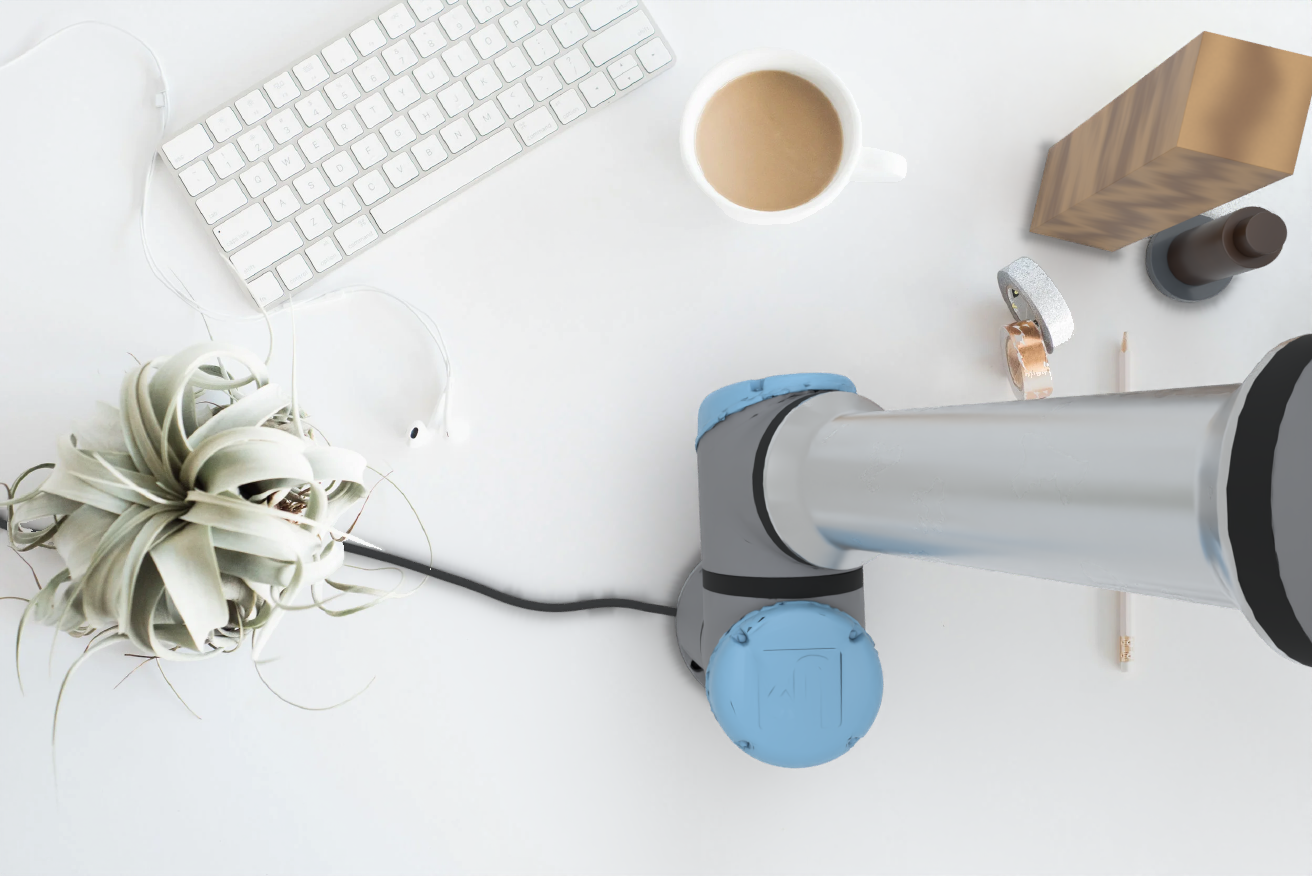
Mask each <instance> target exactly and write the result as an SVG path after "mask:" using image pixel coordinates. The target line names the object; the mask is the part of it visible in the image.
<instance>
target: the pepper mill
mask: <svg viewBox="0 0 1312 876" xmlns="http://www.w3.org/2000/svg"><path fill="white" fill-rule="evenodd" d="M1213 219H1214V220H1211V221H1209V222H1207V223H1204V224H1202V225H1199V226H1197V227H1194V228H1192V229H1189V230H1187V231H1185V232H1183V233H1181V234H1179V235H1178V236H1177V237H1176V238H1175V239H1174V240H1173V241H1172V243H1171V244H1170V247H1169V249H1168V254H1167V261H1168V266H1169V268H1170V270H1171V272H1172V274H1173V275H1174V276H1175V277H1176V278H1177V279H1178V280H1179V281H1181V282H1183V283H1185V284H1188V285H1192V286H1199V285H1204V284H1208V283H1211V282H1214V281H1218V280H1221V279H1224V278H1228V277H1231V276H1233V277H1236V276H1238V275H1241V274H1245V273H1247V272H1251V271H1254V270H1257V269H1261V268H1264V267H1267V266H1268V265H1270V264H1271V263H1273V262H1274V261H1275V260H1276V259H1278V257H1279V255H1280V254H1281V252H1282V250H1283V247H1284V245H1285V243H1286V241H1287V237H1288V228H1287V224H1286V222H1285V221H1284V220H1283V218H1282V217H1280V216H1279V215H1278V214H1276V213H1274V212H1272V211H1270V210H1269V209H1266V208H1265V207H1261V206H1256V205H1255V206H1253V205H1252V206H1245V207H1242V208H1239V209H1236V210H1233V211H1230V212H1228V213H1227V214H1223V215H1222V216H1219V217H1217V218H1213Z"/></svg>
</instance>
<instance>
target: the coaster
mask: <svg viewBox="0 0 1312 876" xmlns="http://www.w3.org/2000/svg"><path fill="white" fill-rule="evenodd" d="M1214 219H1215V218H1212V217H1210V216H1206V215H1203V214H1200V215H1198V216H1195V217H1193V218H1191V219H1188V220H1186V221H1184V222H1181V223H1179V224H1177V225H1174V226H1172V227H1170V228H1167V229H1165V230H1163V231H1160V232H1158V233H1156V234H1153V235H1152V236H1151V238H1150V240H1149V242H1148V245H1147V248H1146V253H1145V254H1146V255H1145V267H1146V271H1147V274H1148V276H1149V279H1150V280H1151V282H1152V284H1153V285H1154V287H1155V288H1156V289H1157V290H1158V291H1159V292H1161V293H1162V294H1163V295H1164V296H1165V297H1168V298H1169V299H1171V300H1174V301H1177V302H1180V303H1181V302H1182V303H1198V302H1202V301H1205V300H1208V299H1211V298H1214V297H1215V296H1218V295H1219V294H1220V293H1221V292H1223V291H1224V290H1225V289H1226V288H1227V286H1228V285H1229V284H1230V283H1231V281H1232V280H1233V278H1234V276H1231V277H1228V278H1224V279H1221V280H1218V281H1214V282H1211V283H1208V284H1204V285H1199V286H1192V285H1188V284H1185V283H1183V282H1181V281H1179V280H1178V279H1177V278H1176V277H1175V276H1174V275H1173V274H1172V272H1171V270H1170V268H1169V266H1168V261H1167V254H1168V249H1169V247H1170V244H1171V243H1172V241H1173V240H1174V239H1175V238H1176V237H1177V236H1178V235H1179V234H1181V233H1183V232H1185V231H1187V230H1189V229H1192V228H1194V227H1197V226H1199V225H1202V224H1204V223H1207V222H1209V221H1211V220H1214Z"/></svg>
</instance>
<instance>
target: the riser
mask: <svg viewBox="0 0 1312 876" xmlns="http://www.w3.org/2000/svg"><path fill="white" fill-rule="evenodd" d="M1311 102H1312V56H1311V55H1306V54H1303V53H1298V52H1294V51H1290V50H1287V49H1281V48H1278V47H1274V46H1270V45H1264V44H1261V43H1258V42H1254V41H1253V42H1252V41H1248V40H1244V39H1241V38H1236V37H1231V36H1227V35H1224V34H1220V33H1216V32H1211V31H1206V30H1203V31H1202V32H1200V33H1199V34H1198V35H1197V36H1196V37H1194V38H1192V39H1191V40H1190V41H1189V42H1187V43H1186V44H1185V45H1183V46H1182V47H1181V48H1180V49H1178V50H1176V52H1174V53H1172V55H1170V56H1169V57H1168V58H1166V59H1165V60H1163V61H1162V62H1161V63H1160V64H1159V65H1157V66H1156V67H1155V68H1153V69H1151V71H1149V72H1148V73H1146V74H1145V75H1144V76H1143V77H1142V78H1140V79H1139V80H1138V81H1136V82H1135V83H1134V84H1132V85H1131V86H1130V87H1128V88H1127V89H1126V90H1124V91H1123V92H1122V93H1121V94H1119V95H1118V96H1117V97H1115V98H1113V99H1112V100H1111V101H1110V102H1109V103H1107V104H1106V105H1104V106H1103V107H1102V108H1100V109H1099V110H1098V111H1097V112H1095V113H1094V114H1093V115H1092V116H1090V117H1089V118H1087V120H1085V121H1084V122H1082V123H1081V124H1080V125H1078V126H1077V127H1075V128H1074V129H1073V130H1072V131H1071V132H1069V133H1067V135H1065V136H1064V137H1062V138H1061V139H1060V140H1059V141H1057V142H1056V143H1055V144H1053V145H1052V146H1051V147H1050V148H1048V152H1047V156H1046V161H1045V165H1044V168H1043V173H1042V177H1041V182H1040V185H1039V188H1038V189H1039V190H1038V194H1037V198H1036V203H1035V207H1034V211H1033V214H1032V218H1031V223H1030V227H1029V232H1030V233H1033V234H1037V235H1040V236H1041V235H1042V236H1045V237H1050V238H1053V239H1057V240H1061V241H1067V242H1070V243H1074V244H1078V245H1083V246H1086V247H1091V248H1095V249H1099V250H1104V251H1107V252H1111V253H1114V252H1116V251H1118V250H1121V249H1123V248H1125V247H1128V246H1130V245H1132V244H1134V243H1137V242H1139V241H1143V240H1144V239H1146V238H1148V237H1152V236H1153V235H1154V234H1156V233H1158V232H1160V231H1163V230H1165V229H1167V228H1170V227H1172V226H1174V225H1177V224H1179V223H1181V222H1184V221H1186V220H1188V219H1191V218H1193V217H1195V216H1198V215H1203V214H1204V213H1207V212H1209V211H1211V210H1214V209H1216V208H1219V207H1221V206H1224V205H1225V204H1228V203H1230V202H1233V201H1235V200H1237V199H1239V198H1242V197H1244V196H1246V195H1249V194H1251V193H1254V192H1256V191H1259V190H1261V189H1263V188H1265V187H1267V186H1270V185H1272V184H1275V183H1277V182H1279V181H1281V180H1284V179H1286V178H1289V177H1291V176H1293V175H1294V173H1295V169H1296V164H1297V160H1298V157H1299V151H1300V149H1301V148H1300V147H1301V143H1302V140H1303V136H1304V131H1305V126H1306V122H1307V118H1308V114H1309V111H1310V106H1311Z"/></svg>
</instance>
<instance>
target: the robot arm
mask: <svg viewBox="0 0 1312 876" xmlns="http://www.w3.org/2000/svg"><path fill="white" fill-rule="evenodd" d="M696 434H697V435H696V437H695V438H694V439H695V440H694V450H695V452H696V465H697V489H698V490H697V491H698V512H699V513H698V514H699V536H700V537H699V539H700V559H701V560H700V561H699V562H698V563H697V564H696V565H695V567H694V568H693V569H692V570H691V572H690V573H689V574H688V576H687V578H686V580H685V581H684V583H683V585H682V588H681V590H680V592H679V596H678V598H677V603H676V607H674V606H673V607H672V606H669V605H668V606H667V605H660V604H654V603H648V602H644V601H639V600H635V599H629V598H626V599H625V598H598V599H590V600H582V601H573V602H565V603H564V602H562V603H561V602H560V603H559V602H558V603H550V602H549V603H547V602H538V601H533V600H529V599H528V600H527V599H523V598H519V597H516V596H512V595H509V594H507V593H504V592H502V591H499V590H496V589H494V588H492V587H489V586H486V585H484V584H481V583H478V582H476V581H473V580H470V579H468V578H464V577H462V576H459V575H455V574H452V573H450V572H447V571H445V570H441V569H437V568H434V567H431V566H429V565H426V564H423V563H420V562H416V561H413V560H410V559H407V558H404V557H401V556H397V555H395V554H391V553H387V552H384V551H380V550H376V549H373V548H369V547H364V546H362V545H358V544H353V543H349V542H345V541H342V542H343V545H344V551H343V552H347V553H350V554H354V555H357V556H362V557H366V558H370V559H373V560H377V561H381V562H385V563H388V564H392V565H395V566H398V567H402V568H405V569H408V570H411V571H413V572H417V573H419V574H423V575H426V576H429V577H432V578H435V579H437V580H439V581H443V582H447V583H449V584H453V585H456V586H459V587H462V588H464V589H467V590H471V591H473V592H476V593H479V594H481V595H483V596H486V597H488V598H490V599H494V600H496V601H498V602H500V603H504V604H506V605H509V606H514V607H517V608H521V609H525V610H529V611H535V612H544V613H566V612H567V613H568V612H569V613H570V612H576V611H585V610H592V609H593V610H594V609H603V608H623V609H631V610H636V611H642V612H647V613H652V614H657V615H663V616H670V617H674V618H675V633H676V634H675V635H676V640H677V644H678V647H679V652H680V655H681V657H682V659H683V661H684V663H685V665H686V667H687V670H688V671H689V672H690V673H691V675H692V676H693V677H694V679H696V681H697V683H699V684H700V685H701V686H702V687H703V688H704V689H705V696H706V700H707V702H708V703H709V707H710V712H712V714H713V716H714V719H715V720H716V721H717V723H718V724H719V726H720V728H721V729H722V731H723V732H724V733H725V735H726V736H727V737H728V738H729V740H730V741H731V742H732V743H733V744H734V745H735V746H736V747H738V749H739V750H741V751H742V752H743V753H745V754H746V755H748V756H750V757H751V758H753V759H755V760H757V761H759V762H761V763H764V764H767V765H770V766H774V767H778V768H784V769H785V768H786V769H807V768H812V767H817V766H821V765H824V764H827V763H830V762H832V761H834V760H836V759H838V758H840V757H842V756H843V755H845V754H846V753H848V752H849V751H851V749H852V748H854V747H855V745H856V744H857V743H858V742H859V741H860V740H861V739H862V738H864V737H865V736H866V735H867V734H868V733H869V731H870V730H871V727H872V726H873V724H874V722H875V720H876V718H877V716H878V714H879V711H880V708H881V705H882V700H883V695H884V694H883V693H884V674H883V672H884V671H883V668H882V663H881V659H880V657H879V651H878V650H877V649H876V648H875V646H876V643H875V641H874V640H873V638H872V636H871V635H870V634H869V633H868V632H867V631H866V611H865V610H866V609H865V588H864V585H865V584H864V565H866V564H868V563H870V562H872V561H873V560H875V559H877V558H878V557H879V556H881V555H886V556H887V555H888V556H892V557H893V556H894V557H900V558H904V559H905V558H906V559H913V560H918V561H926V562H932V563H937V564H945V565H949V566H950V565H951V566H957V567H963V568H970V569H975V570H983V571H989V572H995V573H1002V574H1007V575H1012V576H1013V575H1015V576H1020V577H1026V578H1034V579H1040V580H1045V581H1046V580H1047V581H1053V582H1057V583H1059V582H1060V583H1066V584H1072V585H1076V586H1084V587H1091V588H1096V589H1103V590H1110V591H1115V592H1122V593H1128V594H1134V595H1142V596H1148V597H1154V598H1161V599H1165V600H1166V599H1167V600H1173V601H1180V602H1186V603H1191V604H1198V605H1205V606H1212V607H1217V608H1224V609H1230V610H1237V611H1240V612H1241V614H1242V615H1243V616H1244V618H1245V619H1246V621H1247V622H1248V623H1249V624H1250V626H1251V627H1252V629H1253V630H1254V632H1255V633H1256V634H1257V635H1258V637H1259V638H1260V639H1261V640H1262V641H1263V642H1264V643H1265V645H1266V646H1268V647H1269V648H1270V649H1271V650H1272V651H1274V652H1275V653H1276V654H1278V655H1279V656H1281V657H1283V658H1285V659H1287V660H1288V661H1290V662H1292V663H1294V664H1298V665H1301V666H1305V667H1308V668H1312V333H1305V334H1301V335H1298V336H1295V337H1292V338H1290V339H1287V340H1285V341H1282V342H1280V343H1279V344H1278V345H1276V346H1274V348H1272V349H1270V351H1268V352H1267V353H1266V354H1265V355H1264V356H1263V357H1262V358H1261V359H1260V360H1259V362H1258V363H1257V364H1256V365H1255V366H1254V368H1253V369H1252V370H1251V371H1250V373H1249V374H1248V375H1247V376H1246V378H1245V379H1243V381H1242V382H1238V383H1225V384H1213V385H1198V386H1188V387H1187V386H1185V387H1172V388H1160V389H1159V388H1158V389H1145V390H1134V391H1123V392H1122V391H1121V392H1110V393H1109V392H1108V393H1107V392H1106V393H1096V394H1081V395H1071V396H1057V397H1044V398H1032V399H1031V398H1030V399H1017V400H1003V401H994V402H993V401H992V402H980V403H967V404H955V405H954V404H952V405H943V406H942V405H941V406H929V407H927V406H926V407H916V408H903V409H890V410H888V409H887V410H885V409H884V408H883V407H882V406H880V404H878V403H876V402H875V401H873V400H872V399H870V398H869V397H866V396H864V395H861V394H858V392H857V388H856V386H855V384H854V382H853V381H852V380H851V378H849V377H848V376H846V375H842V374H839V373H832V372H797V373H785V374H777V375H771V376H766V377H764V378H759V379H747V380H741V381H738V382H734V383H731V384H727V385H725V386H722V387H719V388H718V389H715V390H714V391H712V392H711V393H709V394H707V396H705V397H704V399H703V400H702V401H701V403H700V405H699V408H698V411H697V433H696ZM7 521H8V520H6V519H4V518H2V517H0V529H2V530H4V531H7ZM29 528H30V527H29ZM30 529H32V530H33V531H31V532H36V531H40V529H36V528H35V529H34V528H30ZM430 568H431V570H430Z"/></svg>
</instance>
